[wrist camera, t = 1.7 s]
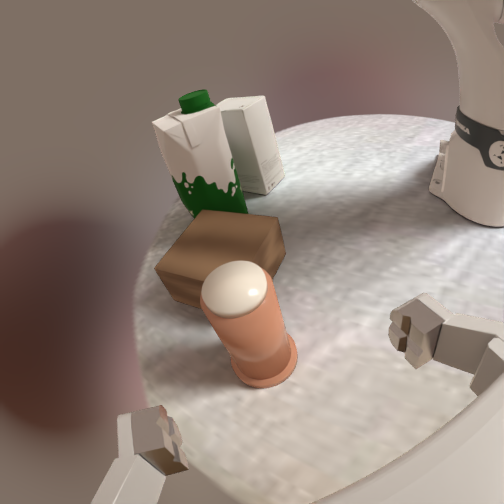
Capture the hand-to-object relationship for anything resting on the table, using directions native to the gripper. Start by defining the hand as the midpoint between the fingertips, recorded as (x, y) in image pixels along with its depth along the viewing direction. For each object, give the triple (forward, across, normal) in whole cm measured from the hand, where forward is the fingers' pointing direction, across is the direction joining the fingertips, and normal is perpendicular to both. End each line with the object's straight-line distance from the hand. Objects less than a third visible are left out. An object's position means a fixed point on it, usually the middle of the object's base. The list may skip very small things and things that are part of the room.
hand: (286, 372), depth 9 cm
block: (+28, -2, +13) cm, 31 cm away
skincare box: (+46, -13, +8) cm, 48 cm away
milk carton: (+41, -4, +10) cm, 42 cm away
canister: (+15, -2, +16) cm, 22 cm away
